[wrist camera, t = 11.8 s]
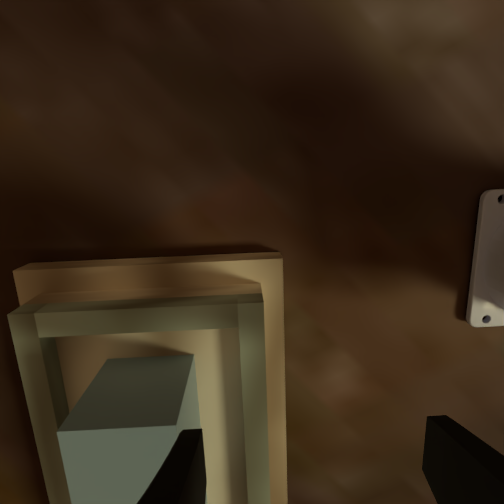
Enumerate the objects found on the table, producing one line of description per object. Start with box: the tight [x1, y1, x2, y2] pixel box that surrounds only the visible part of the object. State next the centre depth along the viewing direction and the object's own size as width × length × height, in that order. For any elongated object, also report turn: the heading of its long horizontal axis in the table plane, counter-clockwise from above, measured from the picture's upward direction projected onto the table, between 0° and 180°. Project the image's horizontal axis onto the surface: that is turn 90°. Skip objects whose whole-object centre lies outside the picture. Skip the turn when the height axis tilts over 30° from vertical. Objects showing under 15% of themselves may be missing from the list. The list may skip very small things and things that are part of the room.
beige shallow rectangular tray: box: [7, 252, 287, 504], centre depth 20 cm, size 14×20×4 cm
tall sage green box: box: [57, 354, 208, 504], centre depth 17 cm, size 4×11×5 cm, turn 2°
